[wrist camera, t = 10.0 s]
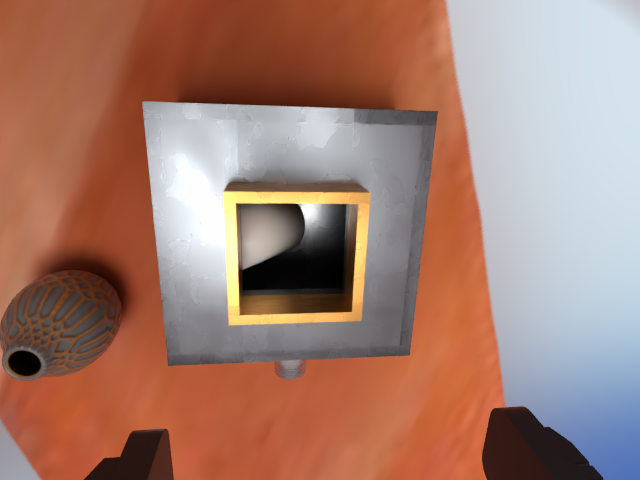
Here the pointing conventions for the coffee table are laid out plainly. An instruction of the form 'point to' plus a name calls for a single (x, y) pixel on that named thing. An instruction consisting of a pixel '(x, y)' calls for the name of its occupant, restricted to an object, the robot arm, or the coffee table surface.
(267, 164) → the grey box with opening
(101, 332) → the vase
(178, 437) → the coffee table surface
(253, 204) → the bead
